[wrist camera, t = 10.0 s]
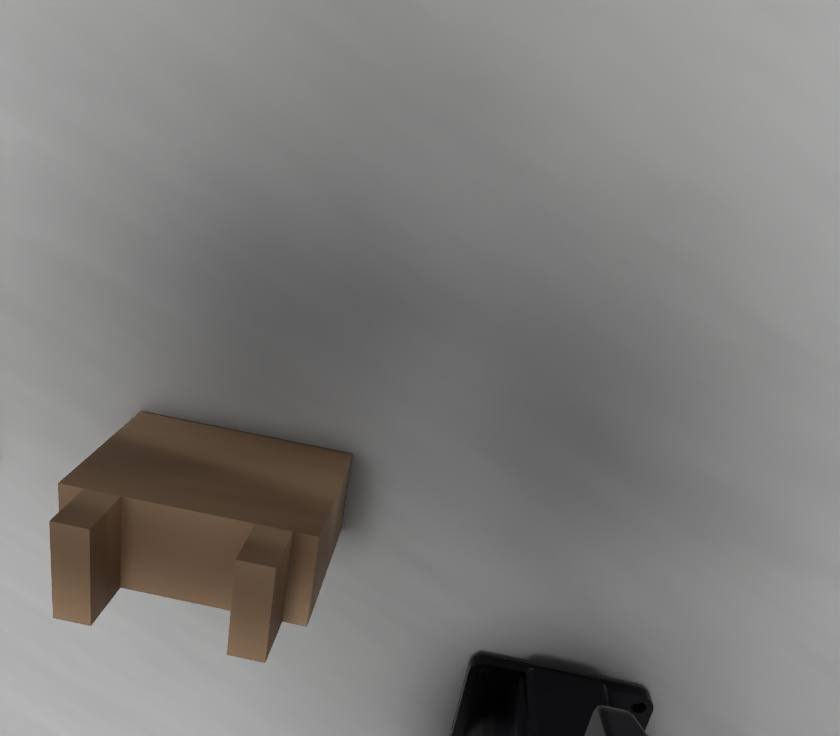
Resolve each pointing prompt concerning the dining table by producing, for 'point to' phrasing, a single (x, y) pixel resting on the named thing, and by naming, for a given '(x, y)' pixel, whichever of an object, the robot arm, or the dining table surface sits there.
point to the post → (200, 525)
